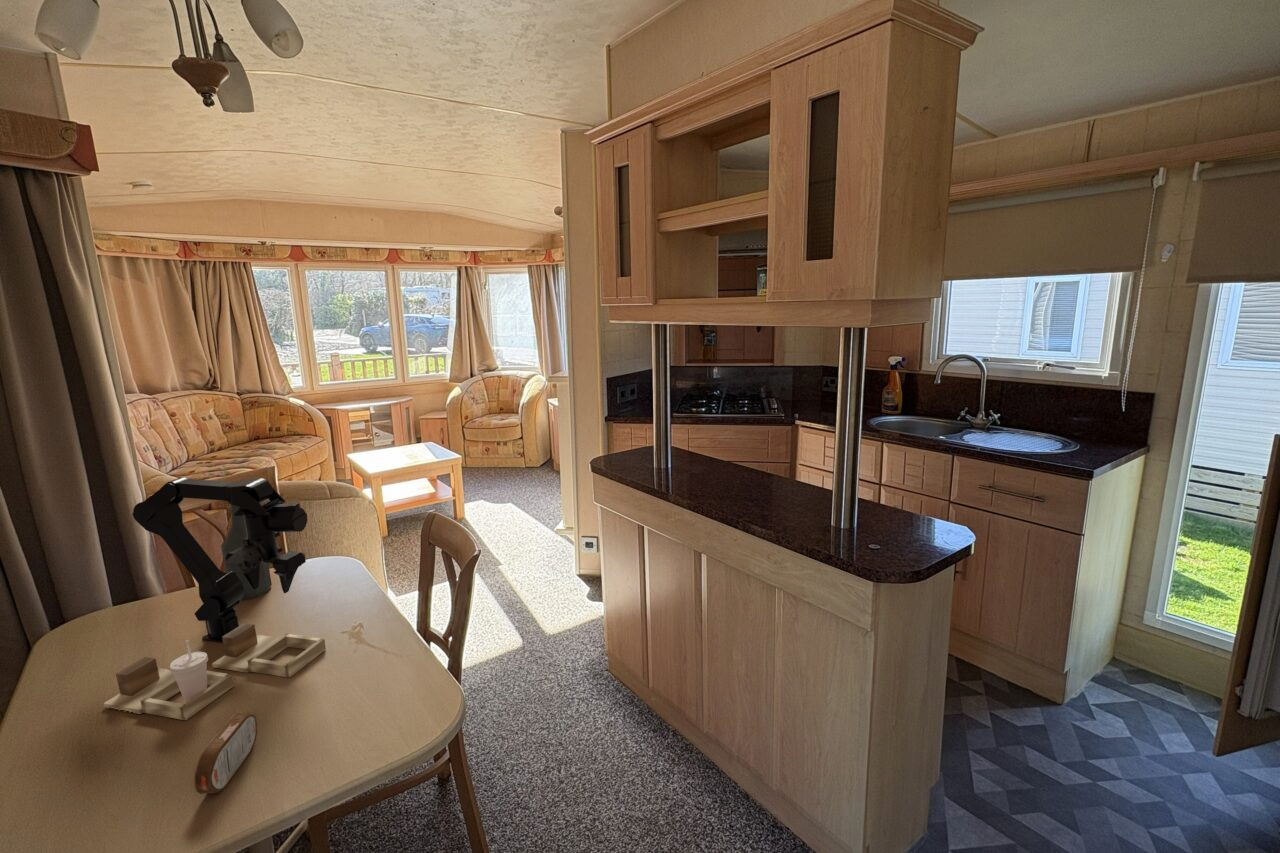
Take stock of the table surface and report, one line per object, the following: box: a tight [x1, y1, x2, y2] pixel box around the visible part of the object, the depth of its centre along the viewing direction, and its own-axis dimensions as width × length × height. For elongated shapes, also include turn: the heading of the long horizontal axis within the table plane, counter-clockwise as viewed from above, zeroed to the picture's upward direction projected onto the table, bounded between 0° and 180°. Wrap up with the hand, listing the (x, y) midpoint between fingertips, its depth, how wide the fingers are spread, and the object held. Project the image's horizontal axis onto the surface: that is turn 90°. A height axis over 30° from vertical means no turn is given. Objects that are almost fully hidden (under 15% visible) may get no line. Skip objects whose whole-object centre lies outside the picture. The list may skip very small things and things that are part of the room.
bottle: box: [220, 504, 273, 600], centre depth 169 cm, size 10×10×30 cm
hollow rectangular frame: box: [212, 622, 327, 678], centre depth 139 cm, size 20×12×6 cm, turn 77°
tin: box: [193, 712, 258, 795], centre depth 106 cm, size 15×3×8 cm, turn 5°
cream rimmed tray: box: [103, 656, 235, 721], centre depth 126 cm, size 20×12×6 cm, turn 77°
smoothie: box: [169, 639, 209, 704], centre depth 124 cm, size 6×6×14 cm
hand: (271, 590), depth 147 cm, fingers open, 9 cm apart
